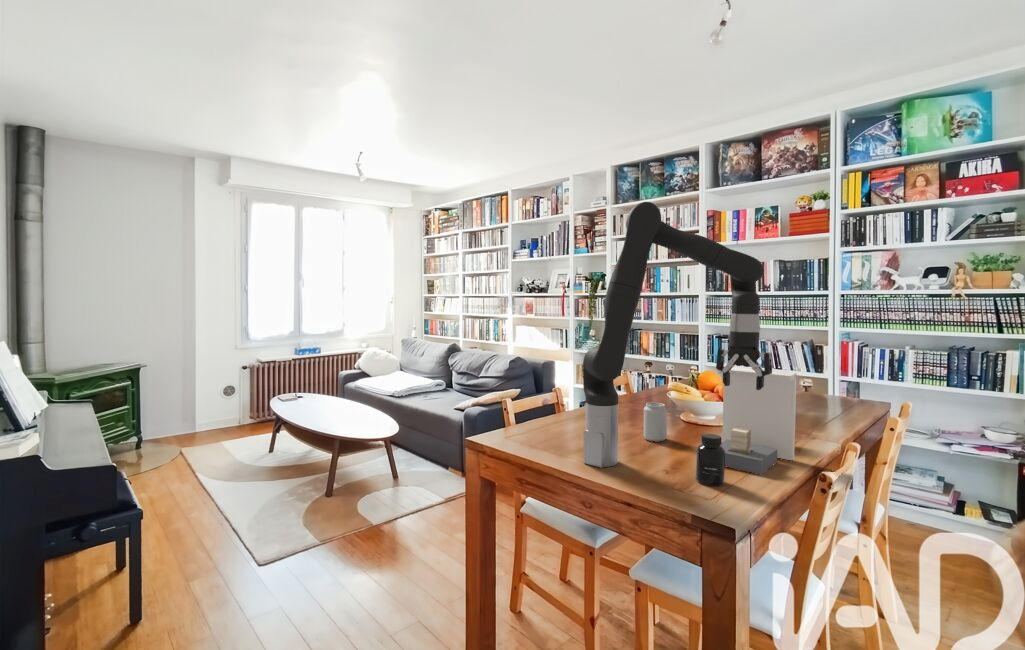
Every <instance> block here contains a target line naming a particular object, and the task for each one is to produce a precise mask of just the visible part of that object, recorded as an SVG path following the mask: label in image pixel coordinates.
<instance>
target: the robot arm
mask: <svg viewBox="0 0 1025 650" xmlns="http://www.w3.org/2000/svg"><path fill="white" fill-rule="evenodd" d="M625 228H626V232H625V237H624V242H623V245H622V246H623V247H622V249H621V252H620V255H619V257H618V259H617V261H616V264H615V266H614V269H613V272H612V274H611V277H610V279H609V283H608V286H607V290H606V294H605V298H604V329H603V334H602V337H601V340H600V344H599V346H598V345H597V346H593V347H591V348H589V349H588V350H587V352H586V353H585V355H584V357H583V361H582V380H583V383H582V384H583V387H582V388H583V392H584V395H585V429H584V431H583V463H584V464H586V465H589V466H590V465H591V466H593V467H598V468H600V469H601V468H607V467H613V466H616V465H618V463H619V461H618V459H619V394H618V392H617V390H616V388H615V384H614V380H615V379H617V378H618V377H619V376H620V374H621V372H622V371H623V367H624V363H625V357H626V352H627V345H628V342H629V341H628V339H629V334H630V331H631V328H632V324H633V321H634V318H635V315H636V310H637V306H638V304H639V301H640V297H641V294H642V290H643V285H644V282H645V281H644V280H645V276H646V271H647V266H648V261H649V260H648V259H649V254H650V251H651V248H652V245H653V244H654V245H657V246H660V247H663V248H666V249H668V250H671V251H673V252H675V253H678V254H680V255H682V256H684V257H686V258H688V259H690V260H692V261H695V262H697V263H699V264H701V265H703V266H705V267H708V268H710V270H711V269H712V270H713V271H714V270H715V271H719V272H722V273H725V274H727V275H728V276H729V280H730V290H731V298H732V299H731V315H730V319H729V320H730V321H729V322H730V323H729V346H728V347H729V348H728V349H725V348H719V349H717V353H716V356H717V357H716V365H715V368H716V370H717V371H718V370H720V371H722V372H723V374H722V383H723V385H724V384H725V386H729V385H730V373H729V371H730V370H731V369H732V368H735V367H745V368H748V367H749V368H750V369H753V370H754V371H755V372H756V374H757V375H758V376H757V379H756V390H761V388H763V387H764V376H765V375H769V374H772V371H773V361H772V360H773V356H772V353H771V352H770V351H769V352H760V331H761V322H760V321H761V320H760V296H759V294H758V293H757V282H758V281H759V280H761V278H762V277H763V275H764V272H765V271H764V270H765V269H764V266H763V264H762V262H761V261H760V260H759V259H757V258H755V257H754V256H752V255H749V254H747V253H743V252H741V251H738V250H735V249H731V248H729V247H727V246H725V245H723V244H721V243H719V242H717V241H715V240H713V239H710V238H708V237H706V236H702V235H700V234H696V233H692V232H688V231H684V230H681V229H678V228H676V227H673V226H672V225H669V224H667V223H666V222H664V221H663V220H662V213H661V211H660V209H659V207H658V206H657V205H656V204H655V203H653V202H651V201H643V202H640V203H638V204H636V205H635V206H633V207H632V208H631V209H630V211H629V213H628V215H627V218H626V222H625ZM727 356H728V357H729V358H730V359H729V361H728V362H727V363H726V365H725V358H726V357H727ZM760 358H761V359H762V361H763V363H764V365H763V366H764V367H763V368H764V369H763V368H762V366H761V365H760V363H759V359H760ZM724 365H725V366H724ZM763 370H764V371H763Z"/></svg>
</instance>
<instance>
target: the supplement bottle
mask: <svg viewBox="0 0 1025 650" xmlns="http://www.w3.org/2000/svg"><path fill="white" fill-rule="evenodd" d="M700 438H701V439H700V443H701V444H699V445H698V446H697V447H696V461H695V462H696V464H695V467H696V468H695V479H696V481H697V483H700V484H701V485H704V486H709V487H720V486H723V485H724V484H725V472H726V471H725V470H726V467H725V450H724V448H723V447H721V446H720V445H721V444H722V439H723V437H722V435H721V436H720V435H718V434H716V433H715V434H714V433H703V434H701V437H700Z"/></svg>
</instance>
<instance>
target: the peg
mask: <svg viewBox="0 0 1025 650" xmlns="http://www.w3.org/2000/svg"><path fill="white" fill-rule="evenodd" d="M731 452H735V453H740V454H744V455H749V454H750V453H751V430H749V429H743V428H737V427H736V428H734V429H732V430H731Z"/></svg>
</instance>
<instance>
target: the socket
mask: <svg viewBox="0 0 1025 650" xmlns="http://www.w3.org/2000/svg"><path fill="white" fill-rule="evenodd" d="M721 442H722V441H721ZM720 446H721V447H723V448H724V450H725V466H727V467H730V468H729V469H731V468H734V469H733V470H736V469H739V470H738V471H740V470H743V471H742V472H744V471H748V472H747V473H749V472H752V473H751V474H753V473H757V474H756V475H758V474H762V473H763V474H764V472H765V471H766V470H767V469H768V468H770V467H771V466H772V465H773V464H775V463H776V462H777V463H778V459H777V449H775V448H770V447H765V446H759V445H754V444H751V453H750V454H749V455H744V454H740V453H735V452H731V440H728V439H727V440H726V441H724V442H722V444H721V445H720ZM777 463H776V464H777ZM776 464H775V465H776ZM773 466H774V465H773ZM773 466H772V467H773ZM727 467H726V468H727ZM772 467H771V468H772ZM771 468H770V469H771ZM768 470H769V469H768ZM768 470H767V471H768ZM767 471H766V472H767ZM766 472H765V473H766ZM763 474H762V475H763Z"/></svg>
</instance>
